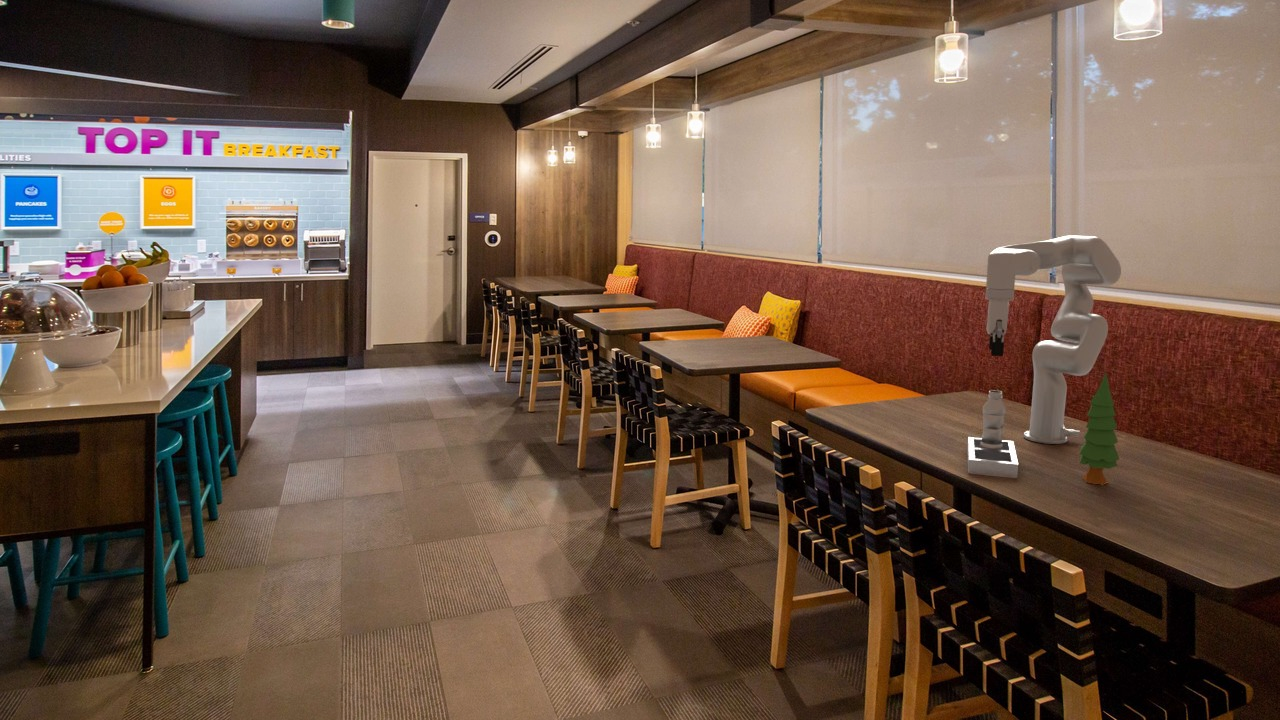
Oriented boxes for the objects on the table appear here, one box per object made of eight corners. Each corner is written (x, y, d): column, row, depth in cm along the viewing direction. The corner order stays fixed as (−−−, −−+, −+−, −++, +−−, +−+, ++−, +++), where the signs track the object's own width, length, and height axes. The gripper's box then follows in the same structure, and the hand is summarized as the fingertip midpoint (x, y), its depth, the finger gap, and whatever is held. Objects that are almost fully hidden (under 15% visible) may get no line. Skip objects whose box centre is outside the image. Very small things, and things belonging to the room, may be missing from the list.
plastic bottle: (1001, 455, 248) (1006, 390, 245) (1003, 462, 242) (1008, 395, 238) (978, 453, 251) (983, 388, 247) (979, 460, 244) (984, 393, 240)
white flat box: (1012, 453, 250) (1013, 441, 249) (1017, 478, 228) (1018, 464, 227) (967, 449, 254) (968, 437, 254) (968, 473, 232) (969, 459, 232)
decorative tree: (1100, 475, 230) (1111, 369, 225) (1125, 486, 221) (1137, 376, 215) (1068, 477, 229) (1079, 370, 223) (1092, 489, 220) (1103, 377, 214)
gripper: (984, 290, 250) (980, 346, 253) (987, 297, 234) (983, 357, 237) (1011, 291, 248) (1007, 347, 251) (1016, 298, 232) (1012, 358, 235)
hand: (995, 352), depth 244 cm, fingers open, 9 cm apart
